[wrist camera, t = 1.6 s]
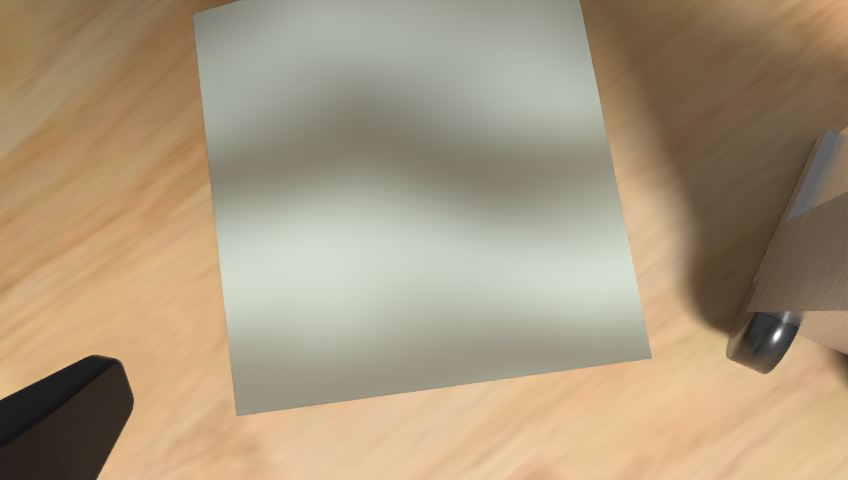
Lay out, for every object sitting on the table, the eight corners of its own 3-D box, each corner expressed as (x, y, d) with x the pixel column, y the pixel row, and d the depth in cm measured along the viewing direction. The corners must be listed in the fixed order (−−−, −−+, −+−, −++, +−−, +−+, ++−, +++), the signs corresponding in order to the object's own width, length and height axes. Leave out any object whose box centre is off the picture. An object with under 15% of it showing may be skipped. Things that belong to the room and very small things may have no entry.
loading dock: (644, 352, 22) (652, 358, 19) (278, 404, 25) (236, 416, 22) (565, -45, 24) (560, -94, 21) (235, 46, 27) (192, 14, 24)
